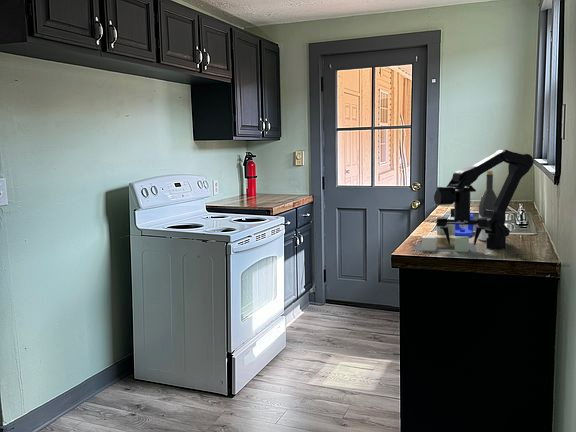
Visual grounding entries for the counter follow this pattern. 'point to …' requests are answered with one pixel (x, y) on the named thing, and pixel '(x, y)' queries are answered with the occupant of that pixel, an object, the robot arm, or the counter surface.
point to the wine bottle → (487, 202)
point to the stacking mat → (440, 249)
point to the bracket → (464, 229)
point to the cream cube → (429, 243)
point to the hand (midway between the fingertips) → (461, 244)
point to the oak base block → (445, 241)
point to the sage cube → (461, 244)
